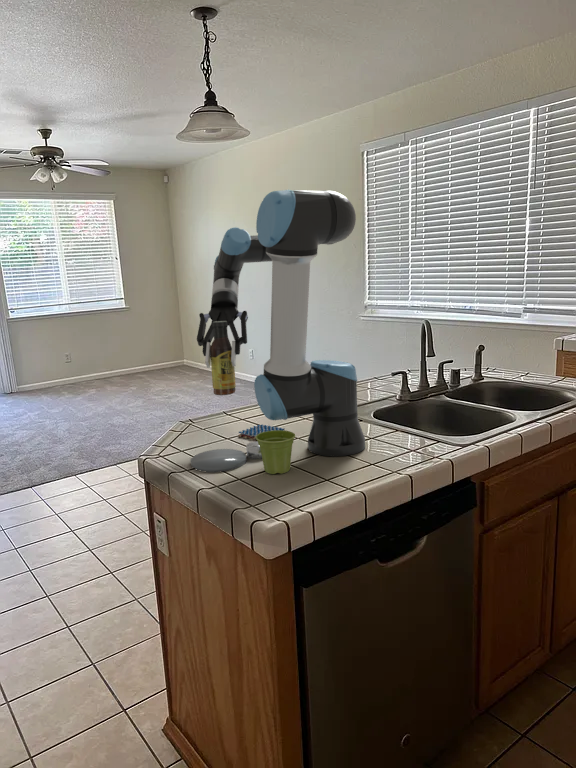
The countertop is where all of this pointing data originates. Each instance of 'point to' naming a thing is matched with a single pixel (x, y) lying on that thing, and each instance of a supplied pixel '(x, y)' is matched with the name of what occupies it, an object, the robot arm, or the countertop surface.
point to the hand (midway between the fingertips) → (220, 363)
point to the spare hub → (253, 450)
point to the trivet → (218, 460)
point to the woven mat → (257, 431)
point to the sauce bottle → (222, 361)
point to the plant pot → (276, 450)
